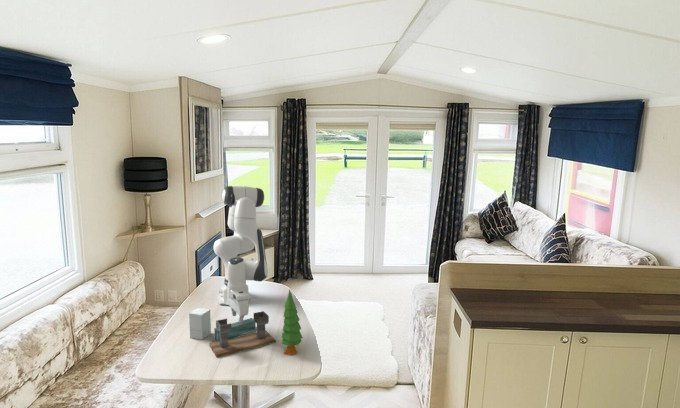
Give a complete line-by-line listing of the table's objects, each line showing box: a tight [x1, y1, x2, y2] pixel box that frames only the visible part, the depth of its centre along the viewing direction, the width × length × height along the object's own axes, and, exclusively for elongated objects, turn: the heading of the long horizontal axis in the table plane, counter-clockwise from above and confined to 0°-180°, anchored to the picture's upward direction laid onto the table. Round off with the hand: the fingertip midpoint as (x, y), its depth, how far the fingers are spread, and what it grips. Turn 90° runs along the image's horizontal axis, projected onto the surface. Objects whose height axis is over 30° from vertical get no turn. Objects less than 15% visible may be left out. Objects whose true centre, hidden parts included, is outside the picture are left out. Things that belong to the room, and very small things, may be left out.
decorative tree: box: [281, 289, 303, 356], centre depth 187 cm, size 10×9×30 cm
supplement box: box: [188, 307, 212, 341], centre depth 202 cm, size 7×7×13 cm
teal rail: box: [213, 317, 257, 342], centre depth 204 cm, size 4×20×6 cm, turn 131°
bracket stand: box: [208, 310, 276, 358], centre depth 194 cm, size 12×28×13 cm, turn 122°
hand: (237, 318), depth 203 cm, fingers open, 8 cm apart
